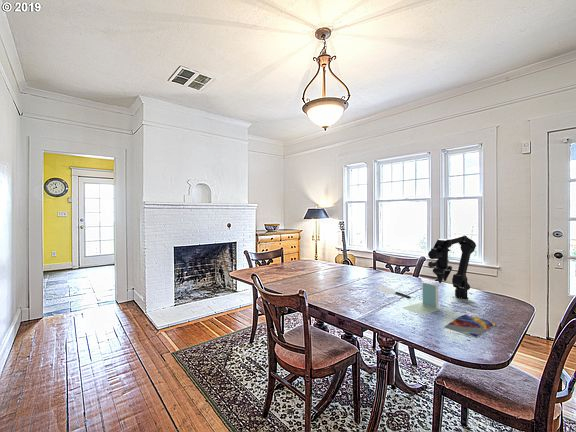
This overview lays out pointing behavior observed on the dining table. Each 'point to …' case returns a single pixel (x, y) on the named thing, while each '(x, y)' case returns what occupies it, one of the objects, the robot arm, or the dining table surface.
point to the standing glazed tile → (430, 294)
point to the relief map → (470, 325)
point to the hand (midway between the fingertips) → (442, 282)
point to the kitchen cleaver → (391, 291)
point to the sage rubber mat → (421, 308)
